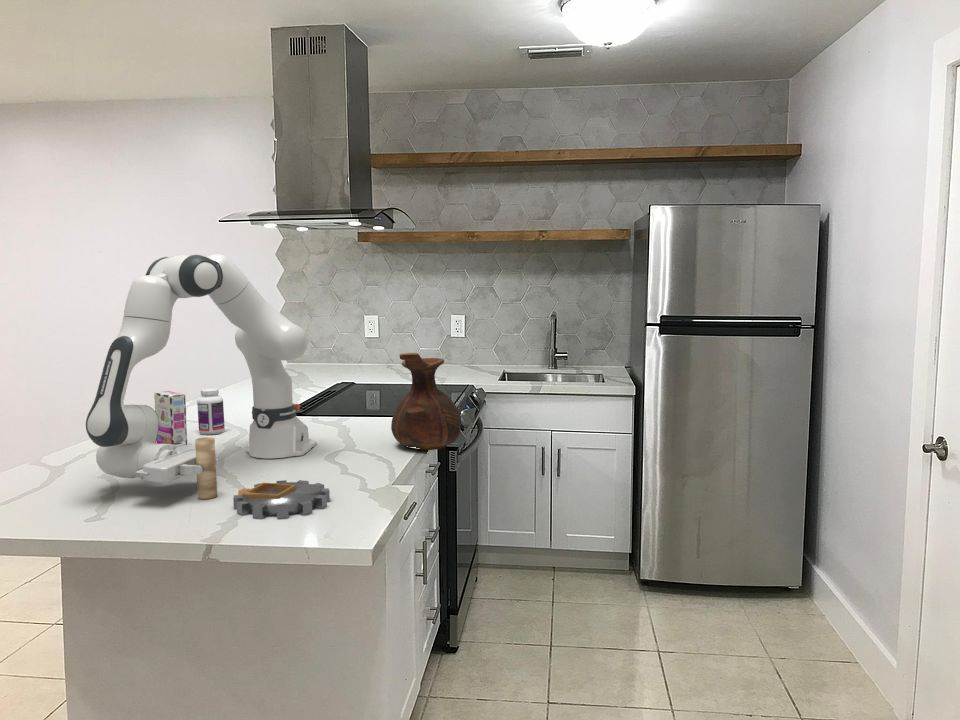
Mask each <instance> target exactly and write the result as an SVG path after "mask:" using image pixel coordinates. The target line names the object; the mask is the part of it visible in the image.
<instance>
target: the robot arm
mask: <svg viewBox="0 0 960 720" xmlns="http://www.w3.org/2000/svg"><path fill="white" fill-rule="evenodd" d="M205 296H209V298H210V299H211V300H212V302H213V303H214V304H215V305H216V306H217V308H218V310H220V311H221V312H222V313H223V315H224V316H225V317H226V319H227V320H228V321H229V322H230V323H231V324H233V326H235V327H237V329H236V330H235V334H234V341H235V345H236V347H237V349H239V351H240V352H241V354H242V355H243V356H244V360H245V361H246V364H247V367H248V370H249V375H250V377H251V383H252V398H253V400H252V401H253V403H252V404H253V406H252V407H251V408H252V409H251V415H252V416H251V418H252V422H251V423H250V424H249V433H248V446H247V447H245V452H246V453H248V455H249V456H250V457H253V458H258V459H282V458H284V459H285V458H289V457H299V456H304V455H306V454H307V453H309V451H311V450H312V449H313V448H314V447H315V446H316V445H318V442H317V440H315V439H310V438H309V434H310V433H309V427H308V426H307V425H306V424H305V423H304V422H303V421H302V420H300V419H299V417H297V411H300V409H301V408H300V407H301V405H300V403H294V402H293V381H292V377H291V375H290V374H289V373H288V372H287V370H286V369H285V366H284V365H283V362H282V361H291V360H295V359H299V358H301V357H302V356H303V355H304V353H306V351H307V348H308V341H309V340H308V334H307V333H306V331H305V329H303V328H302V327H300V326H299V325H297V324H295V323H294V322H292V321H291V320H290V319H289V318H287V317H286V316H284V314H282V313H281V312H280V311H279V310H277V309H276V308H275V307H274V306H272V305H271V303H269V302H268V301H267V300H266V299H265V298H264V297H263V296H262V295H261V293H260V292H259V290H257V288H256V287H255V286H254V285H253V284H252V282H251V281H250V279H249V278H248V277H247V276H246V275H245V273H243V271H242V269H240V268H239V267H238V266H237V264H235V263H234V262H233V261H232V260H231V259H229V258H228V257H227V256H226V255H224V254H221V253H213V254H209V255H207V256H205V255H200V254H178V255H174V256H163V257H161V258H158V259H156V260H154V261H153V262H152V263H151V264H150V265H149V266H148V268H147V270H146V273H145V274H144V275H141V276H138V277H136V278H135V279H133V281H132V282H131V285H130V287H129V290H128V293H127V296H126V297H127V298H126V300H125V306H124V310H123V317H122V322H121V327H120V330H119V331H118V332H119V333H118V334H117V336H116V338H115V339H114V340H113V341H112V343H111V344H110V346H109V348H108V351H107V354H106V358H105V361H104V364H103V369H102V372H101V375H100V380H99V384H98V388H97V392H96V395H95V398H94V401H93V403H92V406H91V407H90V409H89V412H88V414H87V417H86V419H85V420H86V421H85V428H86V429H85V431H86V433H87V435H88V437H89V438H90V440H91V441H92V443H94V445H95V444H96V446H98V448H97V450H96V454H95V455H96V456H95V458H96V459H95V460H96V463H97V466H98V467H99V469H100V470H101V471H102V472H103V473H105V474H106V475H110V476H114V477H118V478H125V479H135V478H140V479H142V480H144V481H147V482H154V483H160V484H162V483H163V484H164V483H165V484H166V483H169V482H171V481H173V480H176V479H178V478H180V477H183V476H185V475H192V474H196V475H197V474H200V473H202V472H204V466H203V465H198V464H197V465H196V446H195V444H187V445H186V443H185V442H176V443H170V444H157V435H158V430H159V418H158V415H157V414H156V412H155V409H154V408H152V407H151V406H150V405H145V404H124V400H125V396H126V391H127V387H128V385H129V381H130V380H129V379H130V376H131V374H132V371H133V369H134V368H135V366H137V364H139V363H140V362H141V361H143V360H145V359H147V358H150V357H153V356H154V355H156V354H158V353H159V352H161V351H162V350H163V349H164V348H165V347H166V346H167V344H168V341H169V339H170V333H171V325H172V318H173V317H172V316H173V309H174V306H175V303H176V301H177V300H178V299H188V298H194V297H195V298H200V297H205ZM312 447H313V448H312ZM311 448H312V449H311ZM305 453H306V454H305ZM217 466H219V459H218V458H216V467H217Z"/></svg>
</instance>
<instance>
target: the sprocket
mask: <svg viewBox="0 0 960 720" xmlns="http://www.w3.org/2000/svg"><path fill="white" fill-rule="evenodd" d="M237 493H238V494H235V495H233V497H232V499H233V500H232V501H233V510H236V514H238V515H241V516H246V515H252V518H253V519H258V518H262V519H261V520H263V519H265V518H267V517H277V520H281V519H289V516H294V515H301V516H307V515H311V514H313V510H314V509H317V510H319V509H320V510H323V509H325V508H326V507H327V506H328V502H331V501H330V500H331V499H330V497H331V496H330V495H331V494H330V489H329V488H327V487H326V488H325V484H323V483H320V482H317V483H309V480H303V479H302V480H297V481H296V482H295V481H289V482H287V479H286V480H284V479H282V480H276V483H275V482H274V483H273V482H261V483H257V484H253V487H252V488H245V487H243V488H241V489H240V490H238V492H237Z"/></svg>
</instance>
